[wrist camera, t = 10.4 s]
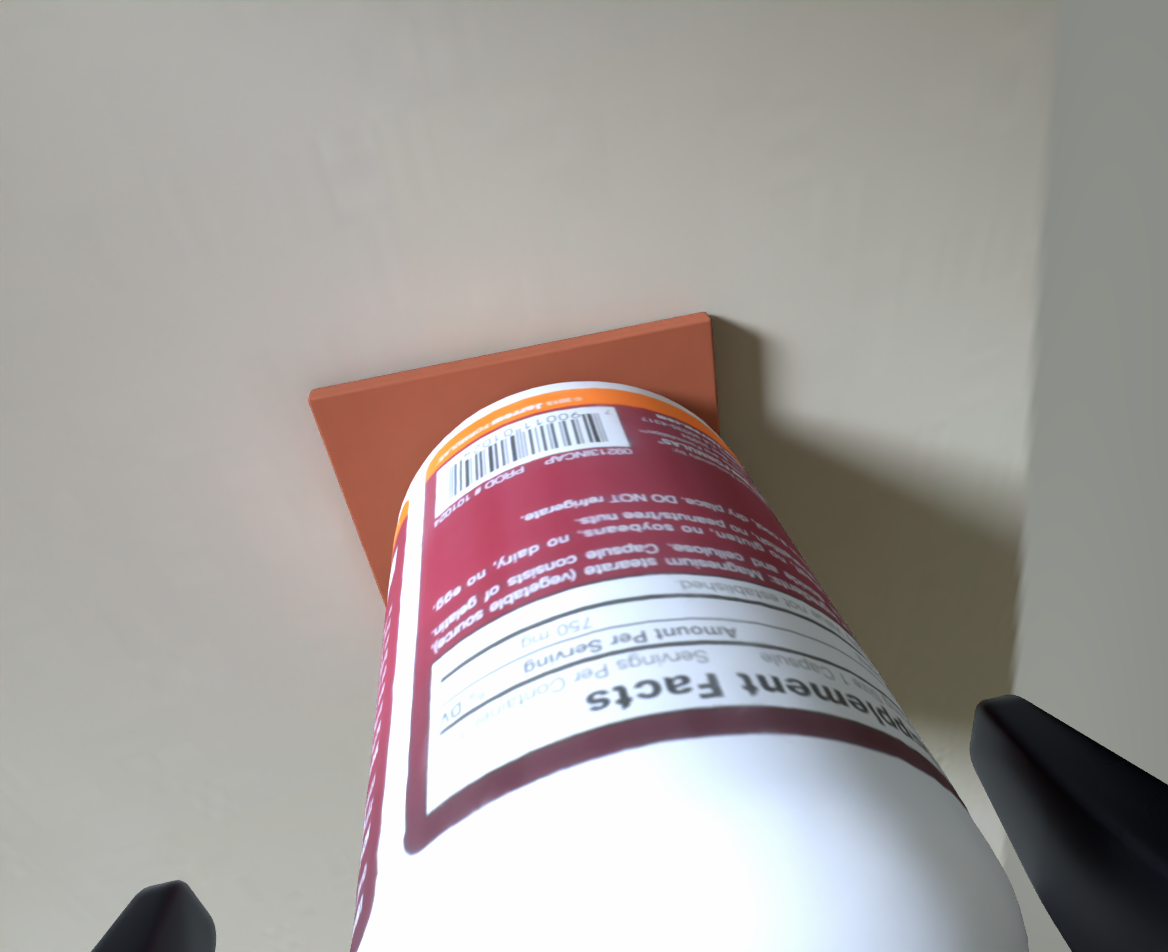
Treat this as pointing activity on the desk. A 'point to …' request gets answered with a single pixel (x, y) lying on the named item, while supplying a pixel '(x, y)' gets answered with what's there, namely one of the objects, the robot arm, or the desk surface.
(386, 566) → the mat
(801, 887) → the pill bottle
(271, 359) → the desk surface
